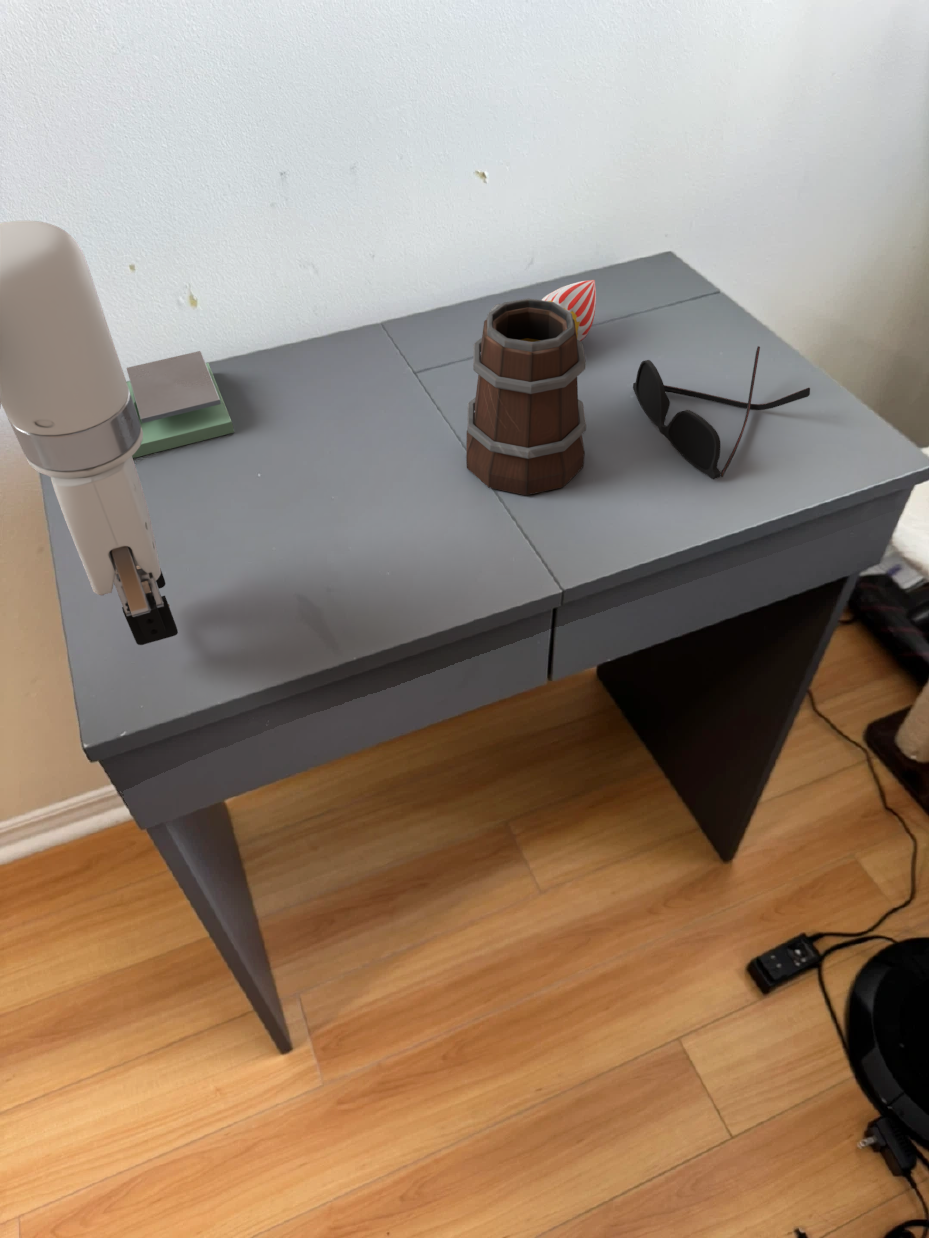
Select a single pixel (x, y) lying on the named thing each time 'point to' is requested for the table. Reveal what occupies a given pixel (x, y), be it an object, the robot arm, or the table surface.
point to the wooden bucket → (526, 399)
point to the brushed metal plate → (172, 386)
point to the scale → (183, 426)
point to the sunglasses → (694, 417)
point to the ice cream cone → (577, 304)
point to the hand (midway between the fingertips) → (151, 611)
